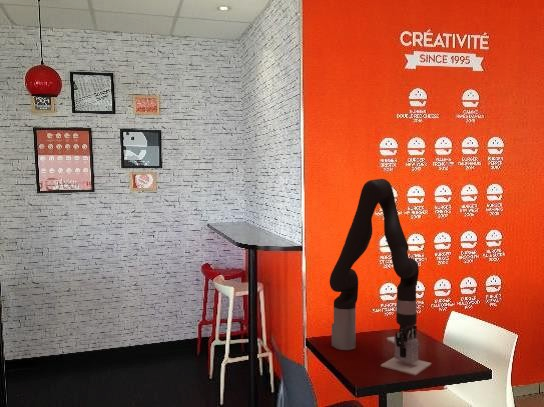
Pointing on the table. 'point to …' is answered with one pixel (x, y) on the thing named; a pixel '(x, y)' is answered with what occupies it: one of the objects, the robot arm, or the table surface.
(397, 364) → the mat
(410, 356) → the medicine box
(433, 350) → the table surface
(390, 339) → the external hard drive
